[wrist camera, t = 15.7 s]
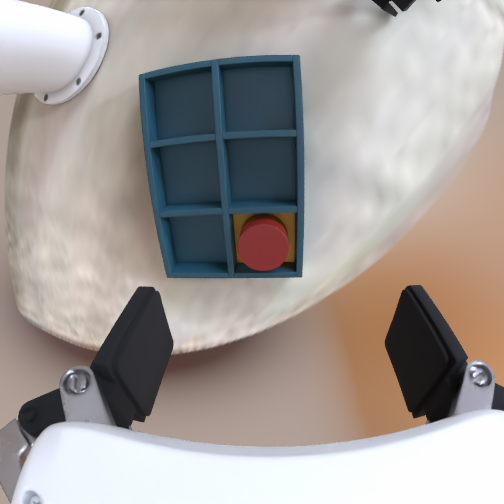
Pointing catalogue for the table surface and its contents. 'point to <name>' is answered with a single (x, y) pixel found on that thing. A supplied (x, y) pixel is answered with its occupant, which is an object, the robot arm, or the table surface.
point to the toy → (403, 3)
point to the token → (263, 242)
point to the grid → (224, 160)
